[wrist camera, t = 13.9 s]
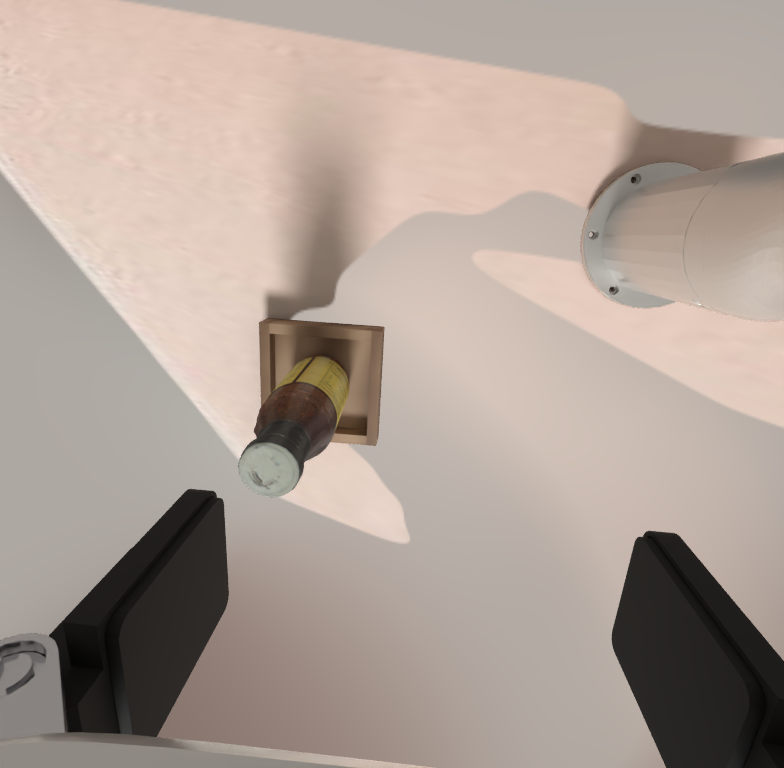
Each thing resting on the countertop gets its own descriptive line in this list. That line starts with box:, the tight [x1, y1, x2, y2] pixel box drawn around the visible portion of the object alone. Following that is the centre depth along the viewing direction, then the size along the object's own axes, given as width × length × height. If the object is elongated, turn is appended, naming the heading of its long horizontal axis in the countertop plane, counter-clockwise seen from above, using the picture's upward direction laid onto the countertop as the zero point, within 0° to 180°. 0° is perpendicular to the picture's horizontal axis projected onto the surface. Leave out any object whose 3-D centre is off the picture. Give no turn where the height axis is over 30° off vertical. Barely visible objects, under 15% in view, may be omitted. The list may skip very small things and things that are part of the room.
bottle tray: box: [259, 318, 384, 446], centre depth 49 cm, size 12×12×2 cm
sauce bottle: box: [238, 355, 349, 498], centre depth 40 cm, size 7×6×20 cm
